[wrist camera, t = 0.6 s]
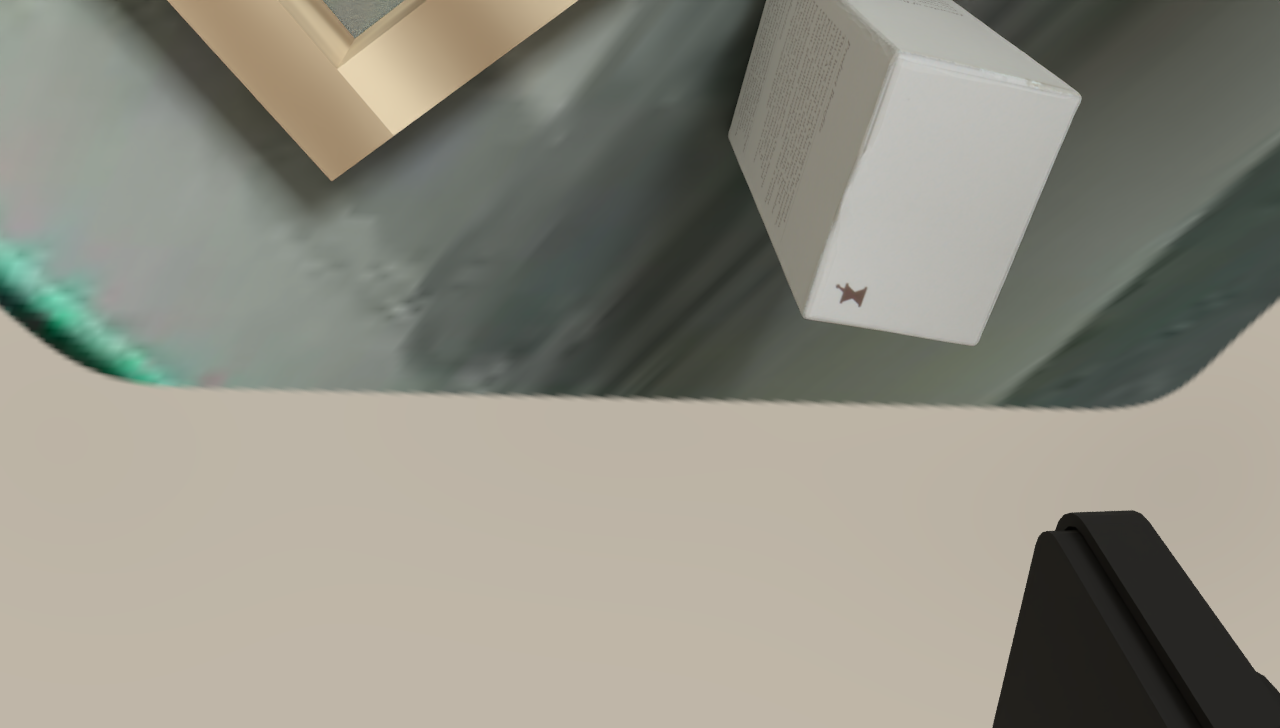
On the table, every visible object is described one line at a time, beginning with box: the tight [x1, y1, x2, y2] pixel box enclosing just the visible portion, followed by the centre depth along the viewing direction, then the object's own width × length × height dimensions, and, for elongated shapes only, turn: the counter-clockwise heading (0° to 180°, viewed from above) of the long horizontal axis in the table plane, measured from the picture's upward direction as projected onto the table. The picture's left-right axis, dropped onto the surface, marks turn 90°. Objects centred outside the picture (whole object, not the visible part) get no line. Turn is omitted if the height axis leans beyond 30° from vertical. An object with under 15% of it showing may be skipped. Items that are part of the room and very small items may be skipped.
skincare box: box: [728, 0, 1082, 346], centre depth 28 cm, size 6×4×12 cm
